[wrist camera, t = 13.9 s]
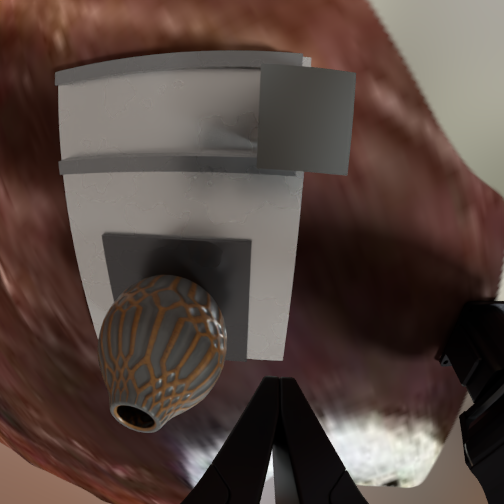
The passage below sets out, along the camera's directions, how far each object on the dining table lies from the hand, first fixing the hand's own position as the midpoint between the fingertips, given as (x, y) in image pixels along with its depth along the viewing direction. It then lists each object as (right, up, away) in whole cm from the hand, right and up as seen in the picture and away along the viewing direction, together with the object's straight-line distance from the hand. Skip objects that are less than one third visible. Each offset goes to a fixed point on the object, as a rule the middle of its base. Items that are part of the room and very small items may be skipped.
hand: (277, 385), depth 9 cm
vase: (-5, +1, +11) cm, 13 cm away
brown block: (+1, +10, +6) cm, 12 cm away
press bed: (-5, +6, +10) cm, 13 cm away
